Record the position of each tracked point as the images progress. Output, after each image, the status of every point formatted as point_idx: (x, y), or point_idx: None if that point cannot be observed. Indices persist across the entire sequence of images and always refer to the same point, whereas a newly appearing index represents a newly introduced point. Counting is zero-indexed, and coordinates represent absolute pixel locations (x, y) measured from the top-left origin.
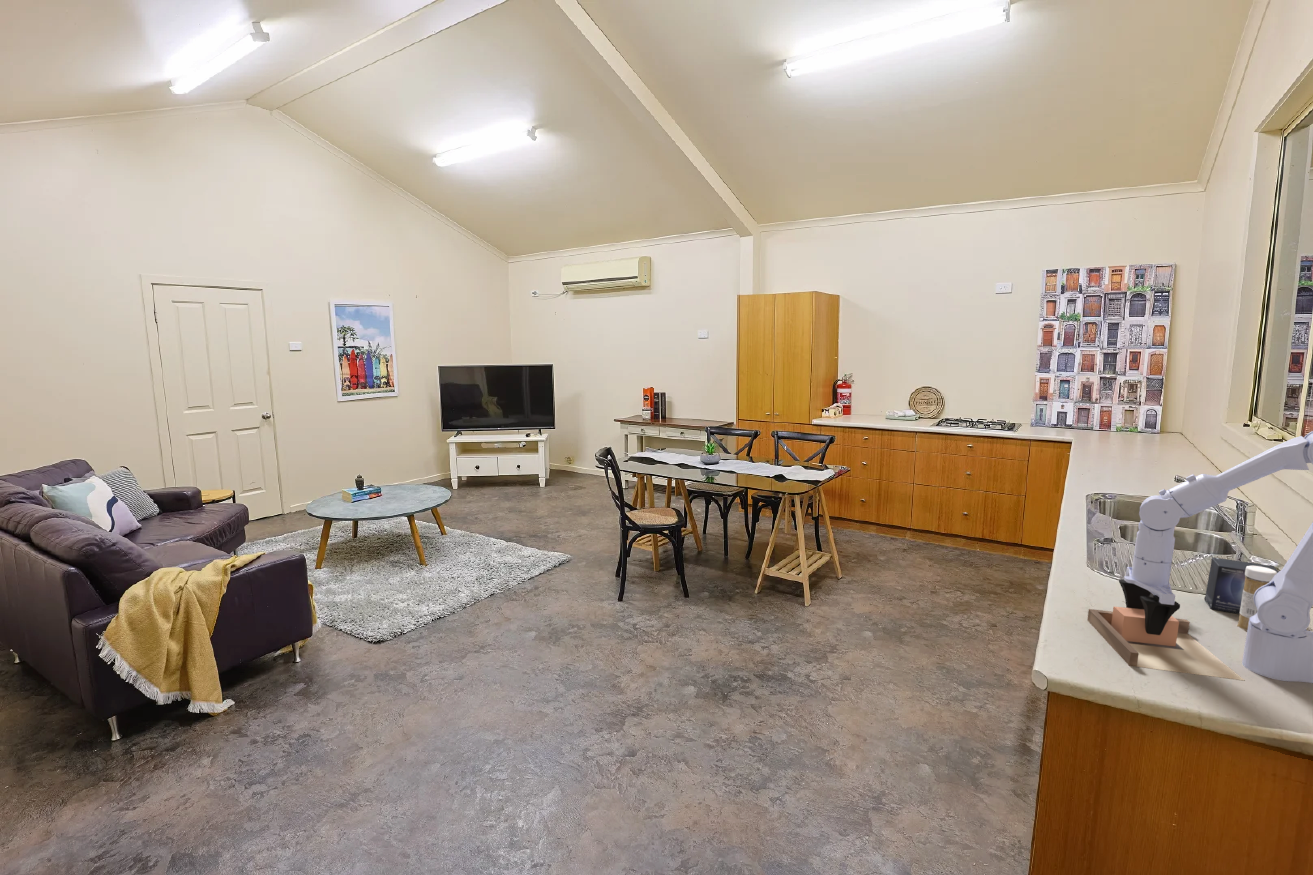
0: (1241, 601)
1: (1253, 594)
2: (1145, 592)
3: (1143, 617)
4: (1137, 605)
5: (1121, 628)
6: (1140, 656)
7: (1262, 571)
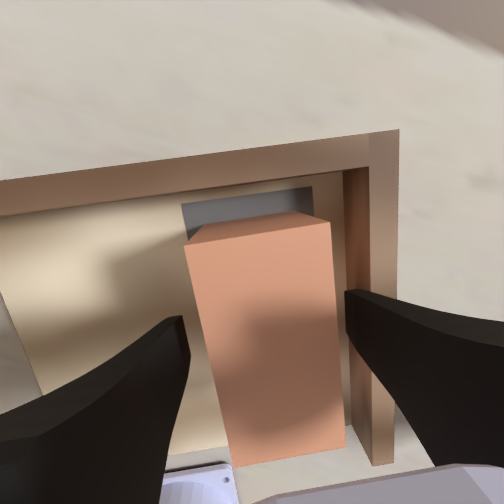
0: None
1: None
2: (450, 459)
3: (211, 339)
4: (379, 349)
5: (207, 229)
6: (81, 255)
7: None
